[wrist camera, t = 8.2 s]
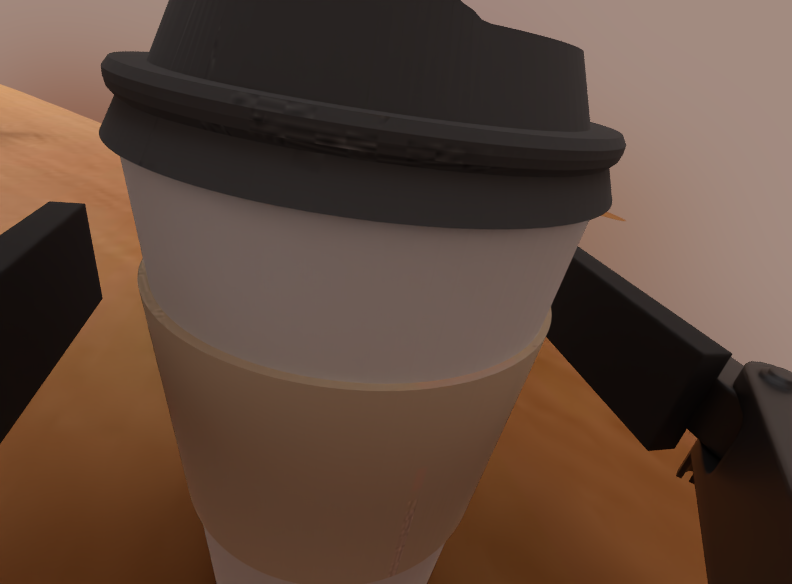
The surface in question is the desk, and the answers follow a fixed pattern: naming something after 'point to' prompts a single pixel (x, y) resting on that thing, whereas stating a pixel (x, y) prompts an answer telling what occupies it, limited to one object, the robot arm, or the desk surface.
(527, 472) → the desk surface
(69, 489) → the desk surface
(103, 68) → the coffee cup
